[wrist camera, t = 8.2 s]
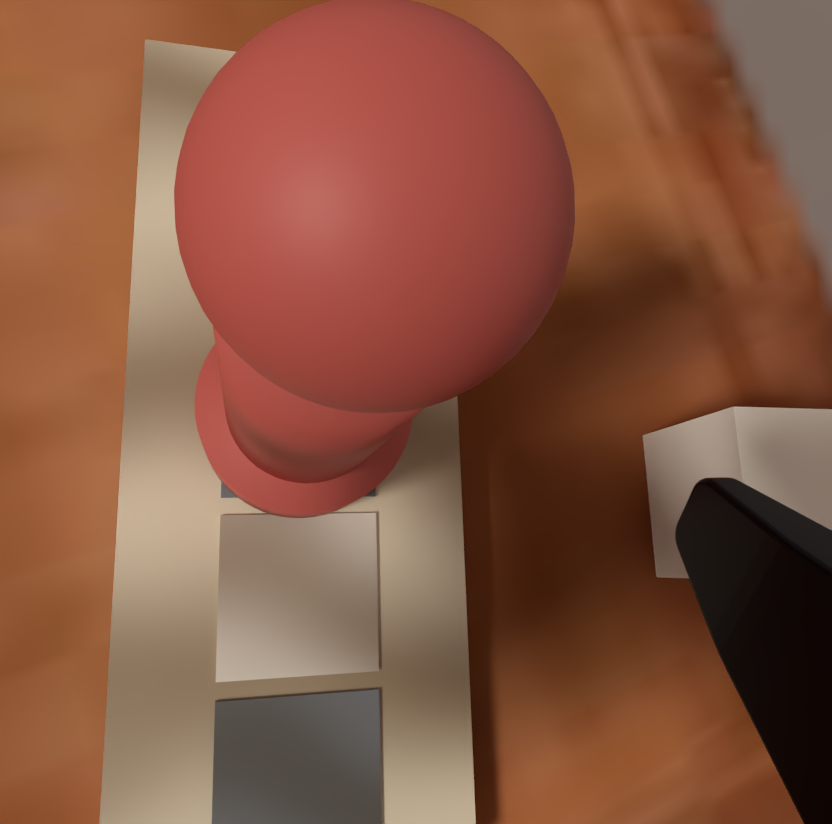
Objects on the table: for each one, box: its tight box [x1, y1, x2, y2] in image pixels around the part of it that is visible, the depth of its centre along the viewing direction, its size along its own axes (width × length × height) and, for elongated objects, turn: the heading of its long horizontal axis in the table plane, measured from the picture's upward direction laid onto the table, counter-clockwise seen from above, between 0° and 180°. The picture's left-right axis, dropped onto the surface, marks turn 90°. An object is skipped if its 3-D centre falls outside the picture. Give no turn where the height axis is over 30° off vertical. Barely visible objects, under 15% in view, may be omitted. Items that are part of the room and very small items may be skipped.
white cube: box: [643, 407, 832, 579], centre depth 18 cm, size 4×4×4 cm
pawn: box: [174, 0, 575, 518], centre depth 11 cm, size 5×5×12 cm
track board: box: [100, 39, 476, 824], centre depth 17 cm, size 20×8×1 cm, turn 2°
